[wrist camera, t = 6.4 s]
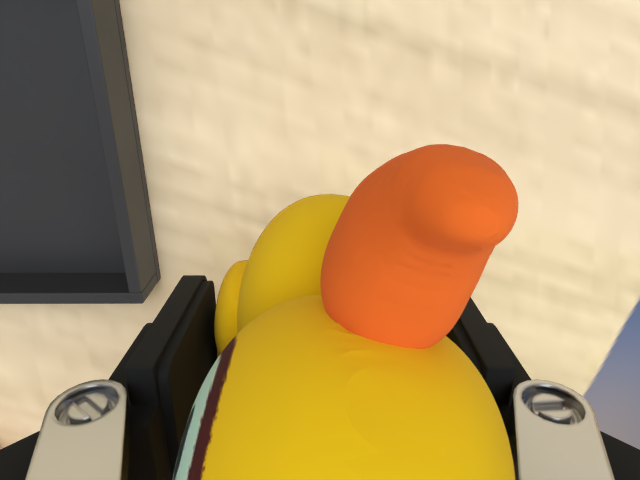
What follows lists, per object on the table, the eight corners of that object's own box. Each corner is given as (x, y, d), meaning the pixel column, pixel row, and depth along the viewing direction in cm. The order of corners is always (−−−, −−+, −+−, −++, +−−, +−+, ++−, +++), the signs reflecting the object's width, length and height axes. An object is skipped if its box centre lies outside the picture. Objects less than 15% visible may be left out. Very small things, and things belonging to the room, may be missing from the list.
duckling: (272, 69, 12) (83, 87, 2) (469, 120, 12) (964, 304, 3) (205, 411, 16) (38, 922, 6) (356, 440, 16) (406, 956, 7)
